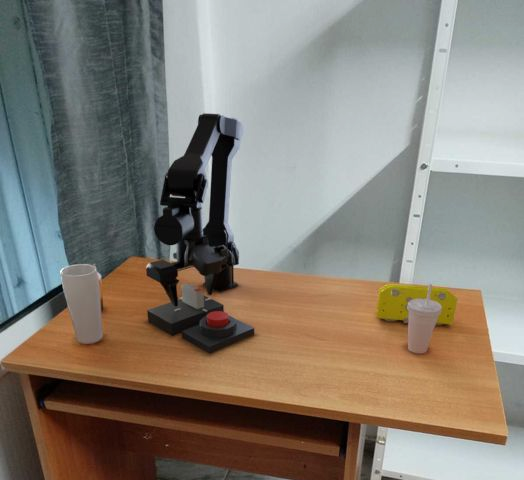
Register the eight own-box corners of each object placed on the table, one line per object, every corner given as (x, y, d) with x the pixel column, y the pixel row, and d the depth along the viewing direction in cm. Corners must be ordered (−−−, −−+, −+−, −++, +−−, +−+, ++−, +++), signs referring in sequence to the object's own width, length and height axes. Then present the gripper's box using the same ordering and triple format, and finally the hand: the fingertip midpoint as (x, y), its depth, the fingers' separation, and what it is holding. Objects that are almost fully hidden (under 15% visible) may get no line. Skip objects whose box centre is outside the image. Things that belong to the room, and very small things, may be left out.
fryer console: (198, 304, 125) (197, 291, 124) (225, 317, 119) (224, 304, 118) (147, 322, 117) (145, 308, 115) (173, 337, 111) (172, 323, 109)
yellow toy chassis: (376, 322, 118) (380, 286, 114) (376, 311, 123) (380, 277, 119) (451, 328, 115) (459, 293, 111) (448, 317, 120) (455, 282, 116)
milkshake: (110, 305, 124) (104, 264, 119) (102, 315, 120) (95, 272, 115) (91, 304, 125) (84, 263, 120) (82, 314, 120) (75, 272, 115)
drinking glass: (113, 335, 111) (104, 266, 104) (91, 349, 106) (80, 278, 98) (88, 329, 114) (77, 261, 106) (65, 342, 108) (52, 272, 101)
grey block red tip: (182, 301, 119) (181, 284, 117) (188, 299, 120) (187, 282, 118) (197, 309, 116) (196, 291, 113) (204, 307, 117) (203, 289, 115)
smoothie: (415, 359, 104) (427, 292, 97) (394, 345, 109) (403, 280, 102) (440, 352, 106) (453, 286, 99) (418, 338, 111) (429, 275, 104)
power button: (219, 316, 112) (219, 309, 111) (233, 323, 110) (233, 315, 109) (202, 322, 110) (202, 315, 109) (216, 330, 107) (216, 322, 106)
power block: (226, 321, 118) (226, 306, 116) (254, 335, 112) (254, 320, 110) (182, 338, 110) (180, 323, 109) (209, 354, 105) (208, 338, 103)
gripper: (173, 249, 99) (179, 325, 107) (249, 230, 110) (249, 300, 118) (141, 236, 106) (148, 307, 114) (215, 219, 117) (217, 285, 125)
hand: (192, 300), depth 117 cm, fingers open, 9 cm apart
